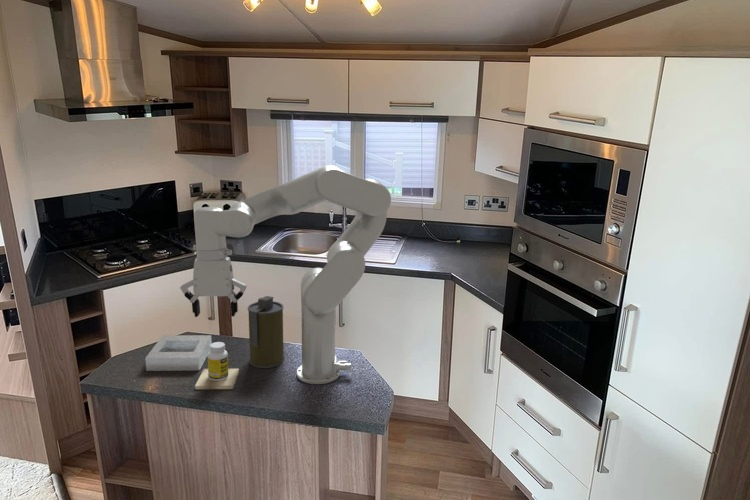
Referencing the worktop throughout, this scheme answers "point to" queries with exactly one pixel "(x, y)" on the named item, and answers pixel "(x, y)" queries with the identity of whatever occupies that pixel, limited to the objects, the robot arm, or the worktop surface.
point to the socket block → (179, 353)
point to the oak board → (210, 384)
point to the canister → (266, 333)
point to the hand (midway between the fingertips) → (215, 314)
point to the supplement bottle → (217, 362)
